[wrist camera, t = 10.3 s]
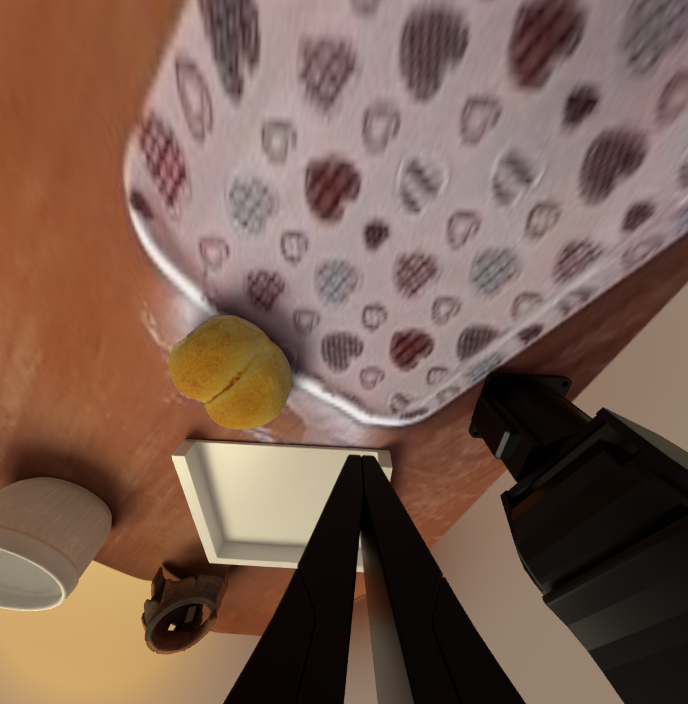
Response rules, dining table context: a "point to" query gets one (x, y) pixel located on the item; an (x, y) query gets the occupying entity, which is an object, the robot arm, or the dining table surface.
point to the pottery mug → (181, 611)
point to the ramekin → (47, 540)
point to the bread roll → (232, 372)
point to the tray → (260, 496)
